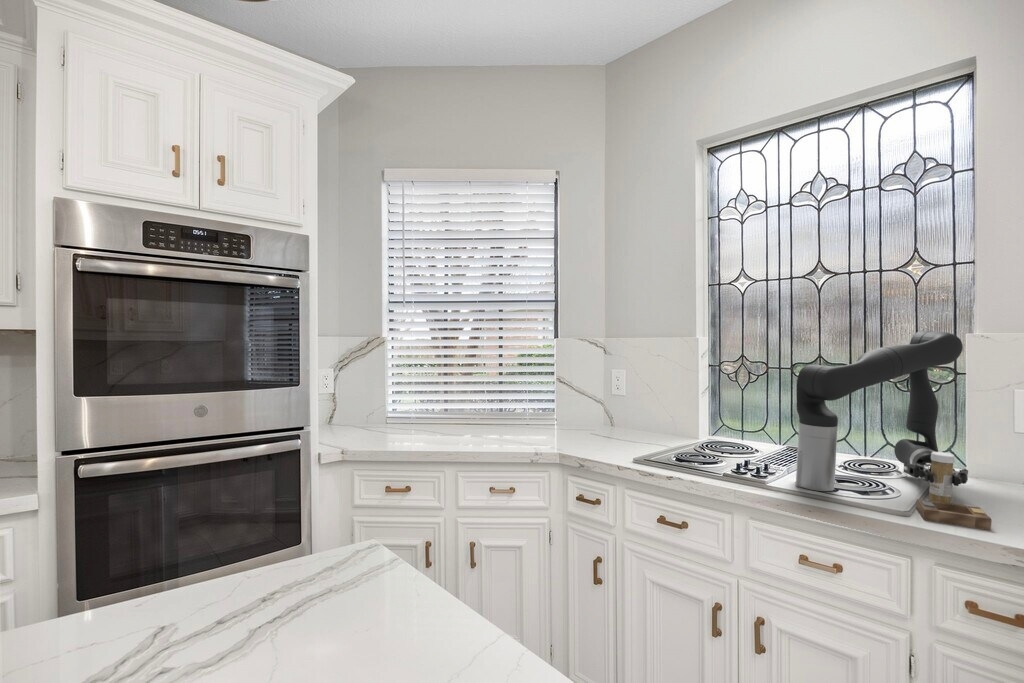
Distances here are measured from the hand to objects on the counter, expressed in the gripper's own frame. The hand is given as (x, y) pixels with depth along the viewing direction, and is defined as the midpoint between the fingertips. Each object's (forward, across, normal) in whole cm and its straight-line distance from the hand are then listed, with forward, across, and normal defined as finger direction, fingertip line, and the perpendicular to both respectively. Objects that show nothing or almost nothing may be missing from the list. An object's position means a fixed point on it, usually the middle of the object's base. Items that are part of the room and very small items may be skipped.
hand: (944, 479), depth 135 cm
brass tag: (+6, +5, +5) cm, 10 cm away
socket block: (+6, 0, +8) cm, 10 cm away
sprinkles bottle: (-3, 0, +8) cm, 8 cm away
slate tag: (+6, -4, +5) cm, 9 cm away
